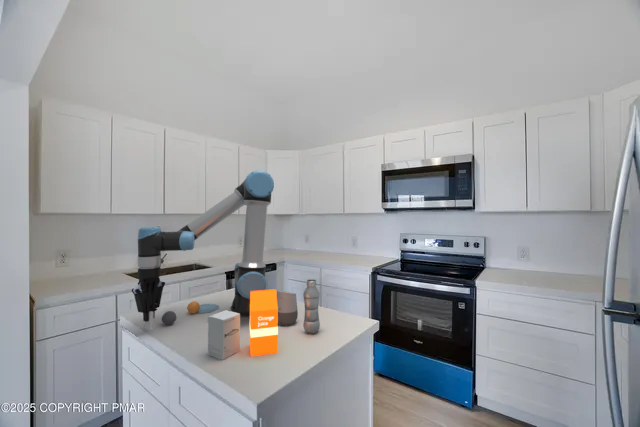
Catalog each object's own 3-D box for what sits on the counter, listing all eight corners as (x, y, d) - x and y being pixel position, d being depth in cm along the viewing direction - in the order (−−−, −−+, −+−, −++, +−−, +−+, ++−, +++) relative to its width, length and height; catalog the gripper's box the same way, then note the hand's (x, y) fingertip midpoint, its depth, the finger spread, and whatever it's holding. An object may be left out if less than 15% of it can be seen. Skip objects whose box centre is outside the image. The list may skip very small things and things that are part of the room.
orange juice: (278, 352, 92) (278, 292, 92) (250, 356, 89) (250, 294, 90) (274, 342, 99) (275, 286, 100) (249, 345, 97) (249, 288, 97)
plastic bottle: (322, 329, 111) (322, 279, 111) (316, 336, 104) (316, 282, 105) (307, 327, 113) (307, 278, 113) (300, 334, 106) (300, 281, 107)
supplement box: (222, 360, 87) (222, 320, 87) (207, 354, 91) (207, 315, 91) (240, 351, 93) (240, 313, 93) (225, 345, 97) (225, 309, 97)
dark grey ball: (179, 322, 119) (179, 309, 119) (170, 327, 113) (170, 313, 113) (167, 321, 119) (167, 308, 119) (158, 326, 114) (158, 313, 114)
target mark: (224, 304, 142) (224, 304, 142) (210, 314, 128) (210, 313, 128) (198, 303, 144) (198, 303, 144) (181, 313, 130) (181, 312, 130)
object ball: (202, 311, 132) (202, 300, 132) (195, 315, 126) (195, 303, 126) (191, 311, 133) (191, 299, 133) (184, 315, 127) (184, 303, 127)
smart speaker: (301, 321, 120) (301, 288, 120) (289, 328, 112) (289, 293, 112) (284, 317, 124) (284, 285, 125) (270, 324, 116) (270, 290, 116)
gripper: (156, 263, 115) (155, 321, 114) (125, 269, 102) (125, 334, 102) (170, 264, 112) (170, 323, 112) (141, 270, 100) (140, 336, 100)
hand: (148, 328), depth 107 cm, fingers closed
